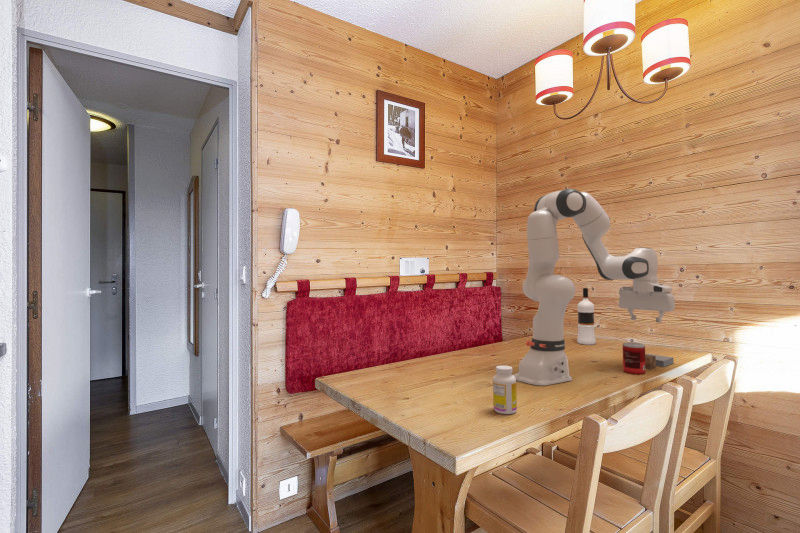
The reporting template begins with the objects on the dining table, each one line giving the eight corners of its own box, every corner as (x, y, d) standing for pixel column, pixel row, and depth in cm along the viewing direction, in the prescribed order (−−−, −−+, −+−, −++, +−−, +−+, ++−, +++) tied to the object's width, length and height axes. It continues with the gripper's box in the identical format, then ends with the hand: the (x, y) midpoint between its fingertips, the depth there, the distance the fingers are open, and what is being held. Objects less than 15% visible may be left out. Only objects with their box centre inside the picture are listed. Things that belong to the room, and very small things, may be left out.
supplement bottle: (512, 406, 120) (512, 364, 120) (520, 414, 113) (519, 369, 113) (490, 407, 120) (490, 364, 120) (496, 415, 113) (496, 370, 113)
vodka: (574, 341, 219) (573, 287, 219) (591, 341, 218) (591, 287, 219) (580, 345, 210) (579, 288, 210) (598, 345, 209) (597, 288, 209)
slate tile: (663, 367, 163) (663, 361, 163) (637, 362, 171) (637, 356, 171) (673, 363, 169) (673, 357, 169) (647, 359, 177) (647, 353, 177)
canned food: (639, 369, 160) (638, 342, 160) (649, 375, 152) (649, 346, 152) (619, 369, 161) (618, 342, 161) (628, 374, 153) (628, 346, 153)
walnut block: (650, 370, 159) (650, 357, 159) (637, 367, 163) (637, 355, 163) (655, 368, 162) (655, 355, 162) (642, 365, 166) (642, 353, 166)
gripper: (615, 286, 169) (616, 319, 169) (670, 288, 153) (670, 324, 153) (622, 286, 173) (623, 317, 173) (676, 287, 156) (677, 322, 156)
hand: (645, 320), depth 163 cm, fingers open, 8 cm apart
